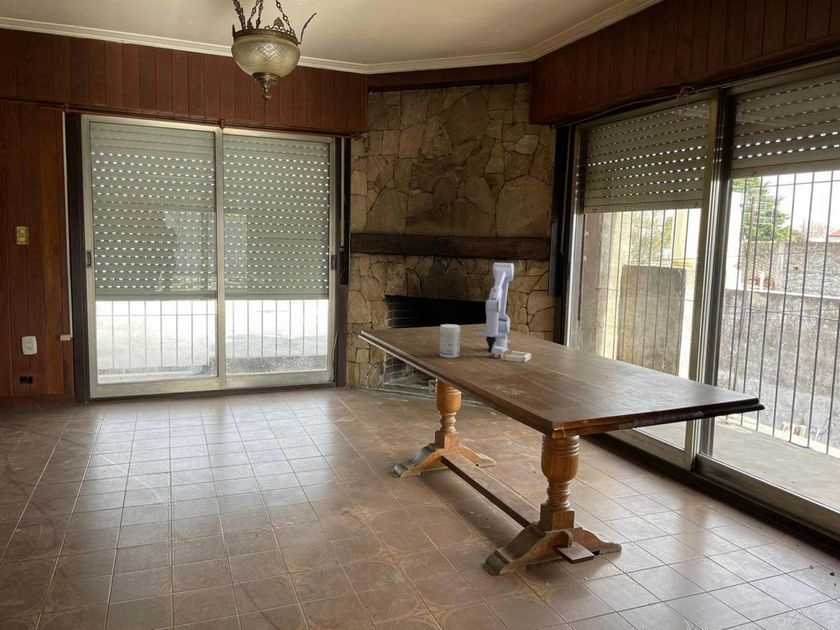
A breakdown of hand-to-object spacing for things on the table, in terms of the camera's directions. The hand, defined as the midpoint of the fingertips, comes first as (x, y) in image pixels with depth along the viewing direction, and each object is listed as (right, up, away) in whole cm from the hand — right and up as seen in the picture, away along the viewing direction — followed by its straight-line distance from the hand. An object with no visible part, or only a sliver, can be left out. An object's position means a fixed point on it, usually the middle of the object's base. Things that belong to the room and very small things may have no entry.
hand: (490, 352), depth 303 cm
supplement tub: (-20, -2, -2) cm, 20 cm away
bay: (+12, -3, -4) cm, 13 cm away
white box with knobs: (+3, -2, -1) cm, 3 cm away
